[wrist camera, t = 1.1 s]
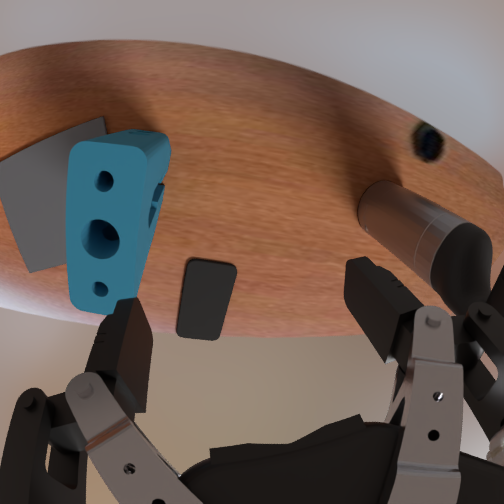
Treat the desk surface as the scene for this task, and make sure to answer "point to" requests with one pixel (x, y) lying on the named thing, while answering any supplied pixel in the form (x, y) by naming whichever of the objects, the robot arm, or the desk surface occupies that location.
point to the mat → (42, 194)
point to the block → (112, 214)
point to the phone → (205, 299)
